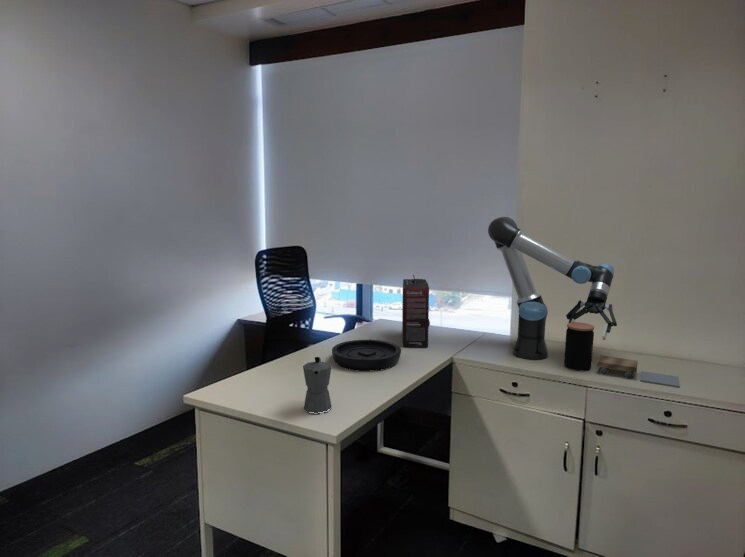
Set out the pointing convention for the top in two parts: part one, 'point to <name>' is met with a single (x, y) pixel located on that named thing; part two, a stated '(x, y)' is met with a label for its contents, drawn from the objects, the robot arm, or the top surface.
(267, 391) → the top surface
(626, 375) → the brown toy cart
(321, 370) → the coffeepot
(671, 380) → the pad
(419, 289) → the headset box
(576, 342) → the coffee jar
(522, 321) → the robot arm
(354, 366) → the round tray
